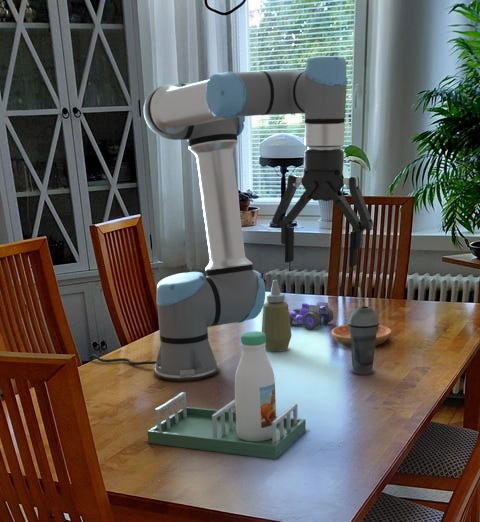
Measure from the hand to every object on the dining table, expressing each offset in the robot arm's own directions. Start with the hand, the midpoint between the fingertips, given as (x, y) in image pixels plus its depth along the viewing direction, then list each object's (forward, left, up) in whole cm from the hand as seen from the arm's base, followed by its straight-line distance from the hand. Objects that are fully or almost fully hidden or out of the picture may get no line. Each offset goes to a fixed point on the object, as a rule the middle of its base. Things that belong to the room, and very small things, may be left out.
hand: (320, 263), depth 174 cm
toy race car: (-30, +70, -30) cm, 82 cm away
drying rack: (-11, -23, -30) cm, 40 cm away
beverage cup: (+1, +28, -30) cm, 41 cm away
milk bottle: (-5, -23, -29) cm, 38 cm away
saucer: (-8, +56, -30) cm, 64 cm away
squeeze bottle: (-27, +42, -30) cm, 58 cm away
